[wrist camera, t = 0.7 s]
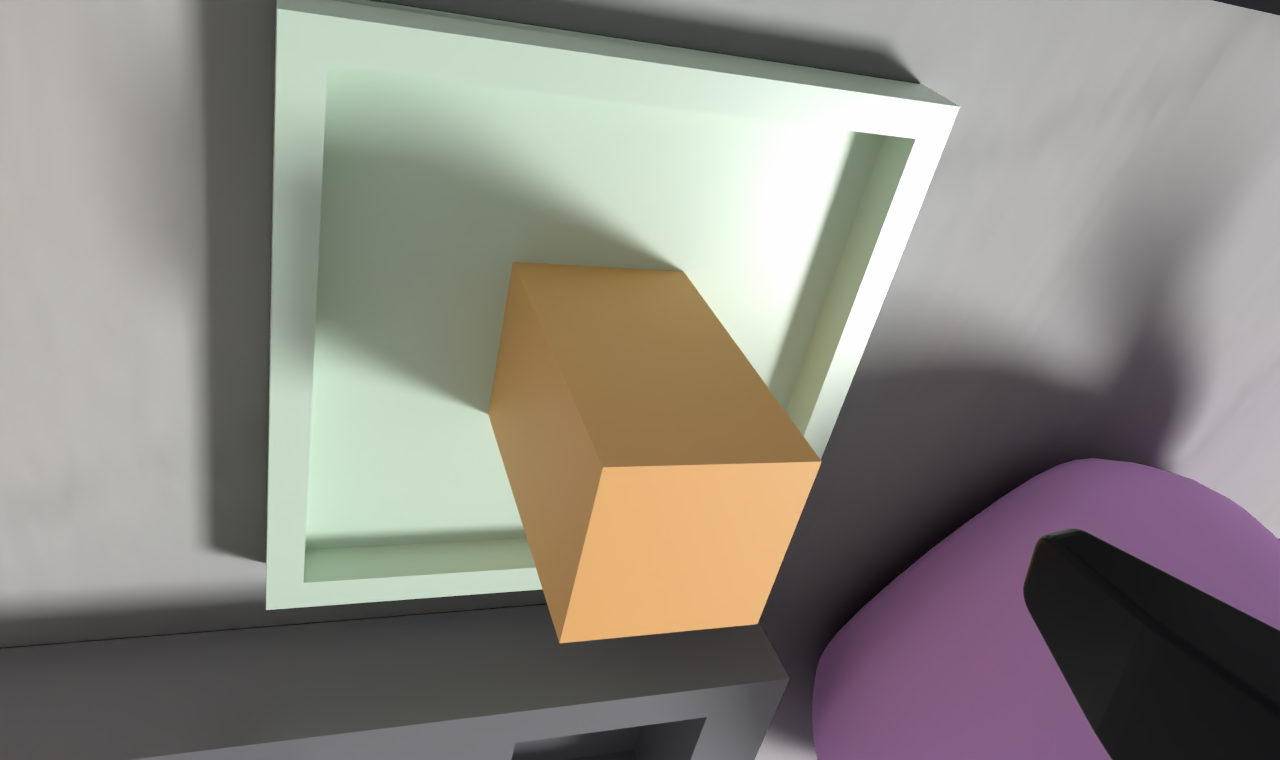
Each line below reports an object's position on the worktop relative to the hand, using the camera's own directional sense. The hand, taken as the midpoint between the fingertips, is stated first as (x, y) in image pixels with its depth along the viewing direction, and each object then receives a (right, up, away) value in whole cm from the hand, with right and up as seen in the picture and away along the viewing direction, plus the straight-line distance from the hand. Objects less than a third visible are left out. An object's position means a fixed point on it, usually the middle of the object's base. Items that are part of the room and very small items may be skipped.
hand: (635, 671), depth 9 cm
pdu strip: (-7, -7, +19) cm, 21 cm away
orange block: (-1, +4, +13) cm, 13 cm away
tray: (-1, +4, +13) cm, 14 cm away
